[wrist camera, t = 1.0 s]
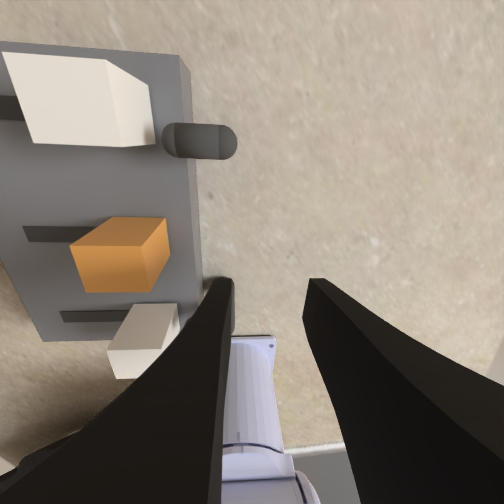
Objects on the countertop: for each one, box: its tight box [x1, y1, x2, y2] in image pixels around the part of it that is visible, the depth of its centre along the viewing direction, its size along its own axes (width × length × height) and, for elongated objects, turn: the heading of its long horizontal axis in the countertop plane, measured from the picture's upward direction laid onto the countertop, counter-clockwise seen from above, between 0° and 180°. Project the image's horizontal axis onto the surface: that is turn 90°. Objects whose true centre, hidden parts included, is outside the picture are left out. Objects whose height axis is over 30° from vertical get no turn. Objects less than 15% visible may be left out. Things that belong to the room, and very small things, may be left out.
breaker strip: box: [0, 41, 204, 342], centre depth 15 cm, size 18×12×3 cm, turn 177°
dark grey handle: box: [161, 122, 237, 334], centre depth 15 cm, size 12×3×6 cm, turn 177°
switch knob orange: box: [70, 217, 170, 293], centre depth 12 cm, size 2×3×4 cm
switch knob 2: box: [106, 303, 180, 379], centre depth 15 cm, size 2×3×4 cm
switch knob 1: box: [2, 52, 156, 147], centre depth 9 cm, size 2×3×4 cm
